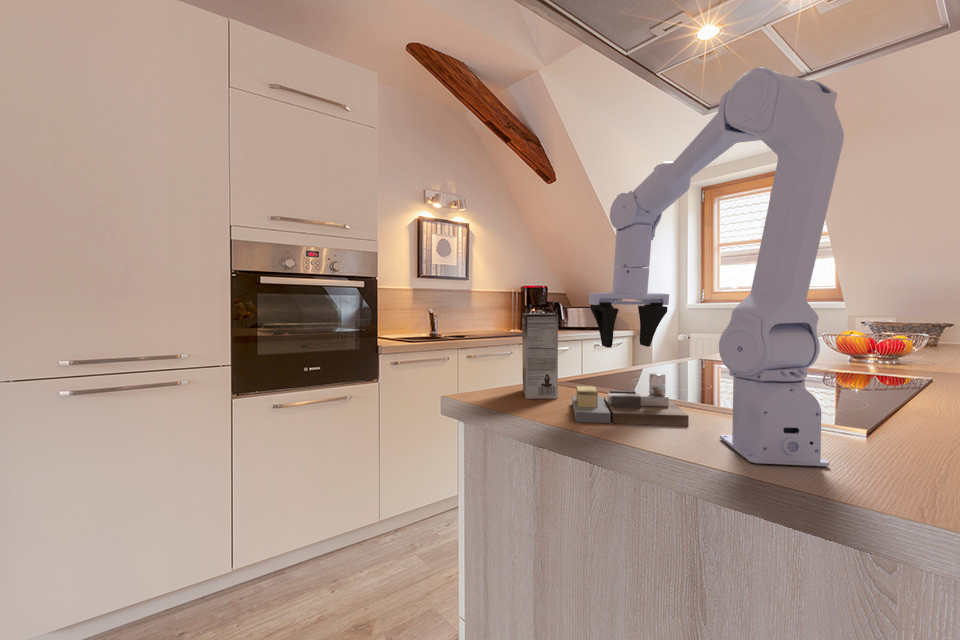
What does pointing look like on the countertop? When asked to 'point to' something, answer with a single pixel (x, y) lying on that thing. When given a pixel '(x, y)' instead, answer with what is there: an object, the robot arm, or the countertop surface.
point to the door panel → (643, 411)
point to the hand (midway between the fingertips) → (626, 346)
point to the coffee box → (540, 355)
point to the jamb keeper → (589, 405)
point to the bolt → (650, 392)
